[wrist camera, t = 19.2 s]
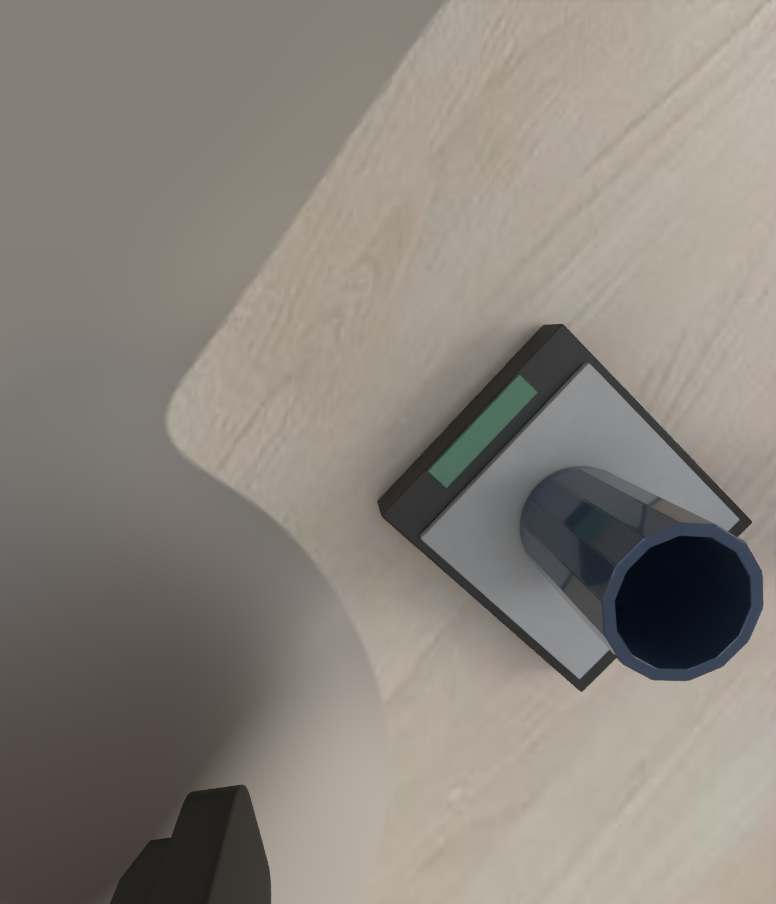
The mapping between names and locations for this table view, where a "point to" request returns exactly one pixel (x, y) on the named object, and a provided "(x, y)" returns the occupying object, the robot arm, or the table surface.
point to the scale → (521, 469)
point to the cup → (643, 572)
